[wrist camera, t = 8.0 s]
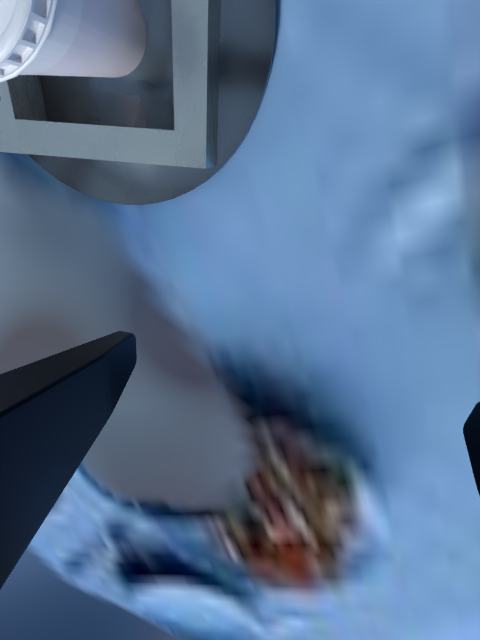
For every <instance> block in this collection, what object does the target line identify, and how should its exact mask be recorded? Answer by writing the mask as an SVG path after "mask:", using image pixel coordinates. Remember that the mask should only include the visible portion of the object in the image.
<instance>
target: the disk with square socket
mask: <svg viewBox="0 0 480 640" xmlns="http://www.w3.org/2000/svg"><path fill="white" fill-rule="evenodd" d="M137 2H138V3H139V5H140V7H141V10H142V12H143V15H144V19H145V24H146V33H147V38H146V47H145V51H144V55H143V57H142V59H141V61H140V63H139V65H138V66H137V67H136V68H135V69H134V70H133V71H132V72H131V73H129V74H128V75H126V76H123V77H117V78H112V77H82V76H53V75H18V76H17V77H14V78H12V79H9V80H6V81H4V82H1V83H0V152H10V153H22V154H28V155H29V156H30V157H31V158H32V159H33V160H34V161H36V162H37V163H38V164H39V165H40V166H41V167H42V168H43V169H45V170H46V171H47V172H49V173H50V174H51V175H53V176H54V177H55V178H57V179H58V180H60V181H61V182H63V183H65V184H66V185H68V186H70V187H71V188H73V189H75V190H77V191H79V192H81V193H84V194H86V195H88V196H90V197H94V198H97V199H100V200H103V201H107V202H112V203H118V204H124V205H144V204H152V203H159V202H162V201H166V200H170V199H173V198H176V197H178V196H180V195H182V194H185V193H187V192H189V191H191V190H193V189H195V188H196V187H198V186H199V185H201V184H203V183H204V182H206V181H207V180H209V179H210V178H211V177H212V176H213V175H214V174H215V173H217V172H218V171H219V170H220V169H221V168H222V167H223V166H224V165H225V164H226V163H227V161H228V160H229V159H230V158H231V157H232V156H233V155H234V154H235V152H236V151H237V149H238V148H239V146H240V145H241V143H242V142H243V140H244V139H245V137H246V136H247V134H248V132H249V130H250V128H251V126H252V124H253V122H254V120H255V118H256V116H257V113H258V111H259V108H260V105H261V103H262V100H263V97H264V95H265V91H266V87H267V83H268V79H269V75H270V71H271V67H272V60H273V52H274V45H275V31H276V0H137Z"/></svg>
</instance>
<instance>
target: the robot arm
mask: <svg viewBox="0 0 480 640" xmlns="http://www.w3.org/2000/svg"><path fill="white" fill-rule="evenodd" d="M136 358H137V357H136V337H135V335H134V334H133V333H129V332H124V331H118V332H115V333H112V334H110V335H107V336H104V337H102V338H99V339H96V340H93V341H91V342H88V343H85V344H82V345H80V346H77V347H74V348H71V349H69V350H66V351H63V352H61V353H58V354H55V355H52V356H49V357H47V358H44V359H41V360H39V361H36V362H33V363H30V364H28V365H25V366H22V367H19V368H17V369H14V370H11V371H8V372H6V373H3V374H0V589H1V588H2V586H3V584H4V583H5V581H6V580H7V578H8V577H9V575H10V573H11V572H12V570H13V569H14V567H15V565H16V564H17V563H18V561H19V559H20V558H21V556H22V555H23V553H24V551H25V550H26V548H27V547H28V545H29V544H30V542H31V540H32V539H33V537H34V536H35V534H36V533H37V531H38V529H39V528H40V526H41V525H42V523H43V522H44V520H45V518H46V517H47V515H48V514H49V512H50V510H51V509H52V507H53V506H54V504H55V503H56V501H57V499H58V498H59V496H60V495H61V493H62V492H63V490H64V488H65V487H66V485H67V484H68V482H69V480H70V479H71V477H72V476H73V474H74V473H75V471H76V469H77V468H78V466H79V465H80V463H81V462H82V460H83V458H84V457H85V455H86V454H87V452H88V451H89V449H90V447H91V445H92V444H93V443H94V441H95V439H96V438H97V436H98V435H99V433H100V432H101V430H102V428H103V427H104V425H105V424H106V422H107V420H108V419H109V417H110V416H111V414H112V412H113V410H114V408H115V406H116V404H117V402H118V400H119V398H120V396H121V394H122V392H123V390H124V388H125V386H126V384H127V382H128V380H129V377H130V375H131V373H132V371H133V369H134V367H135V364H136ZM463 433H464V438H465V442H466V446H467V450H468V454H469V458H470V462H471V466H472V470H473V474H474V478H475V482H476V485H477V489H478V492H479V495H480V402H478V403H477V404H476V405H475V407H474V409H473V410H472V412H471V414H470V415H469V417H468V419H467V420H466V422H465V424H464V427H463Z"/></svg>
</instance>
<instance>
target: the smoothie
mask: <svg viewBox="0 0 480 640" xmlns="http://www.w3.org/2000/svg"><path fill="white" fill-rule="evenodd" d="M146 38H147V33H146V24H145V19H144V15H143V12H142V10H141V7H140V5H139V3H138V2H137V0H0V83H1V82H4V81H6V80H9V79H12V78H14V77H17V76H18V75H53V76H82V77H112V78H117V77H123V76H126V75H128V74H129V73H131V72H132V71H133V70H134V69H135V68H136V67H137V66H138V65H139V63H140V61H141V59H142V57H143V55H144V51H145V47H146Z"/></svg>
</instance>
